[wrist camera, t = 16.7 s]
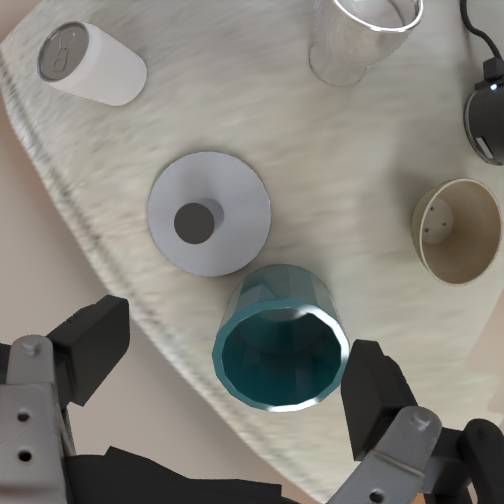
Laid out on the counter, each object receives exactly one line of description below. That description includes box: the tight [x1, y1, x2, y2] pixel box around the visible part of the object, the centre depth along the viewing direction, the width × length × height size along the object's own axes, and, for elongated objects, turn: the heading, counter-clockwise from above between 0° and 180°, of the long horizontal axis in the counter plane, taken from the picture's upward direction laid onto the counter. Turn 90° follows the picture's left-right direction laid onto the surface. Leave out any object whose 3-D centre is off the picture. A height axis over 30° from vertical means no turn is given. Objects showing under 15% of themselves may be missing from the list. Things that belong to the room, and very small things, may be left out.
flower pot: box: [411, 178, 503, 286], centre depth 28 cm, size 10×10×7 cm
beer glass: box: [309, 0, 424, 86], centre depth 21 cm, size 7×7×15 cm
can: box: [37, 21, 147, 106], centre depth 24 cm, size 6×6×12 cm
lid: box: [148, 151, 271, 277], centre depth 30 cm, size 13×13×6 cm
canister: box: [212, 265, 350, 412], centre depth 30 cm, size 12×12×10 cm
